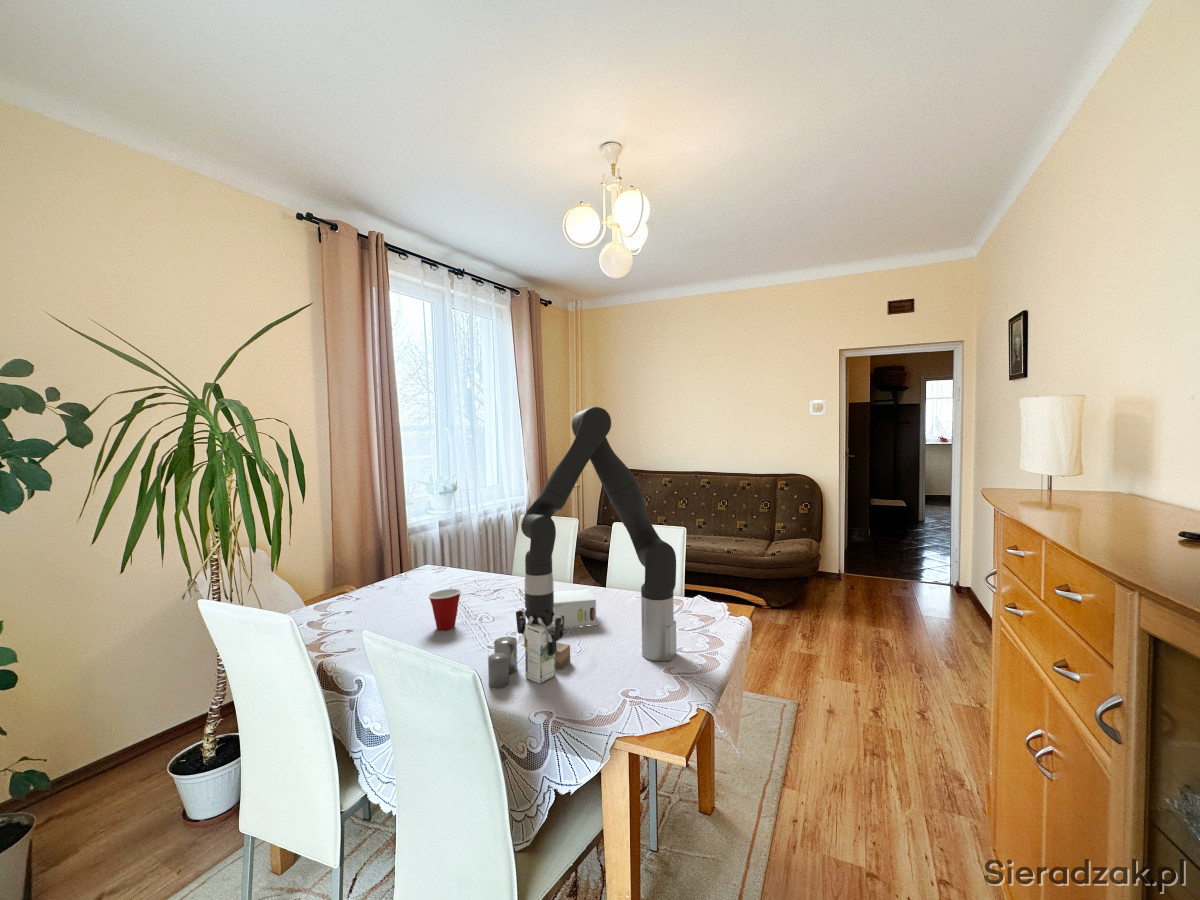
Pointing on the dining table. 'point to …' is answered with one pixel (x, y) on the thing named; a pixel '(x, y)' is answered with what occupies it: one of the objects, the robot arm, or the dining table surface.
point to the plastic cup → (445, 607)
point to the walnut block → (562, 655)
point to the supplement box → (575, 607)
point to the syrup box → (538, 654)
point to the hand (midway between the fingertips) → (540, 652)
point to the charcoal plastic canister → (498, 670)
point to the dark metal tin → (508, 651)
